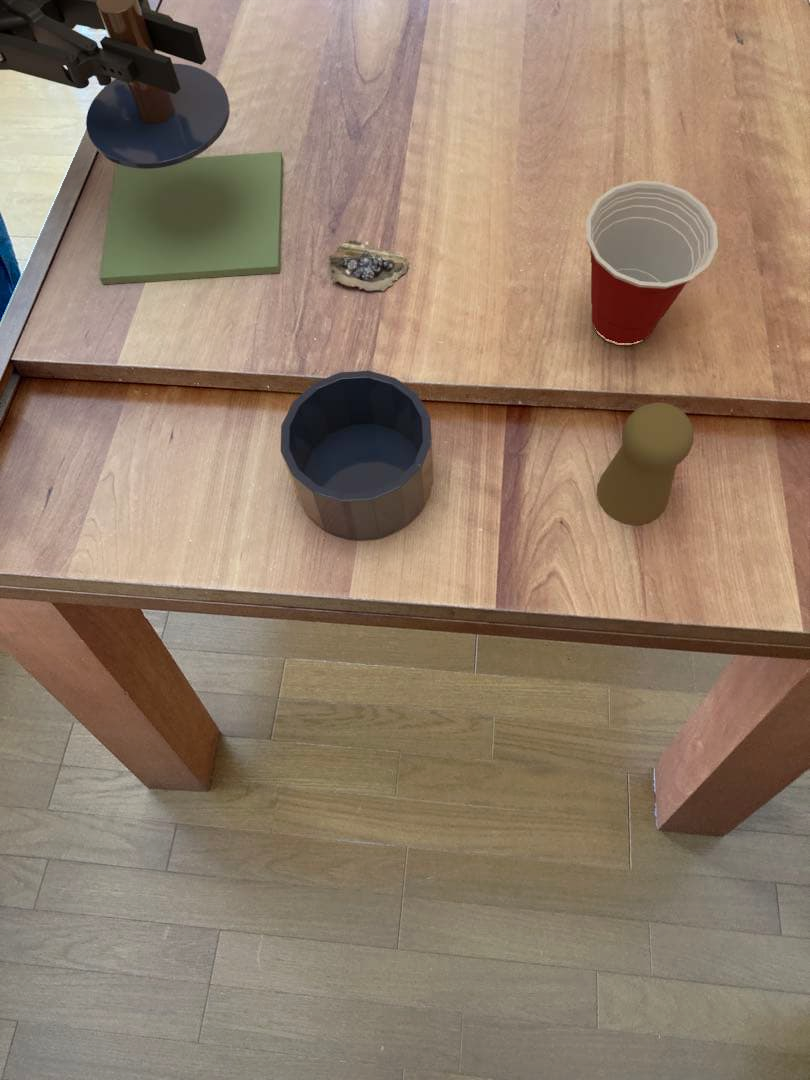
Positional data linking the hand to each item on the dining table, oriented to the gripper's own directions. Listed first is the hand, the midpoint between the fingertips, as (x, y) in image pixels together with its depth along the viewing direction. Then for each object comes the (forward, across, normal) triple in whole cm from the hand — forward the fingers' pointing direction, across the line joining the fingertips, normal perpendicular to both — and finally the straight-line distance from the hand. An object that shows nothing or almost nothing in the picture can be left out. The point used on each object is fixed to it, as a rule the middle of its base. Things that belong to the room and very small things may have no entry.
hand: (185, 61), depth 67 cm
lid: (-5, 0, -7) cm, 9 cm away
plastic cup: (+39, -6, -19) cm, 44 cm away
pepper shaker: (+47, +10, -19) cm, 52 cm away
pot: (+25, +19, -19) cm, 37 cm away
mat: (-5, 0, -19) cm, 20 cm away
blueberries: (+14, -2, -19) cm, 24 cm away
